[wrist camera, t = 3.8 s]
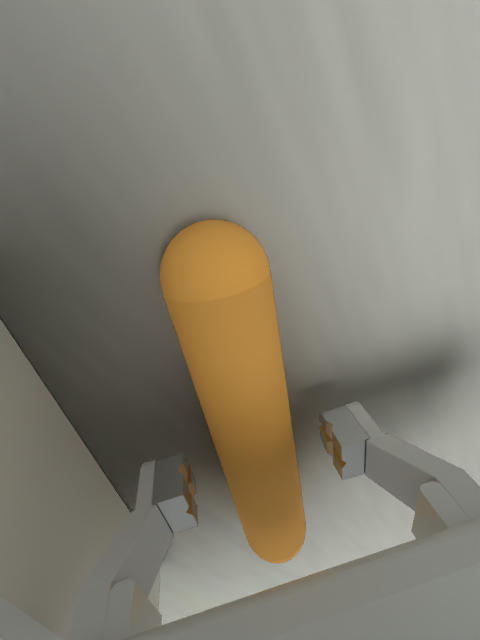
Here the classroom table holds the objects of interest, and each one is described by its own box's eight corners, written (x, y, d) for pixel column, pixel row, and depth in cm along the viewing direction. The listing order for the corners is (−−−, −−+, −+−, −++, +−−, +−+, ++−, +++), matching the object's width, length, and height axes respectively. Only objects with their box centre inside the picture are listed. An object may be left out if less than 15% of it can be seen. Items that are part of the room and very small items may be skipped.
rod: (244, 517, 16) (257, 584, 13) (148, 225, 8) (136, 248, 6) (295, 500, 16) (317, 563, 14) (247, 202, 9) (278, 216, 6)
